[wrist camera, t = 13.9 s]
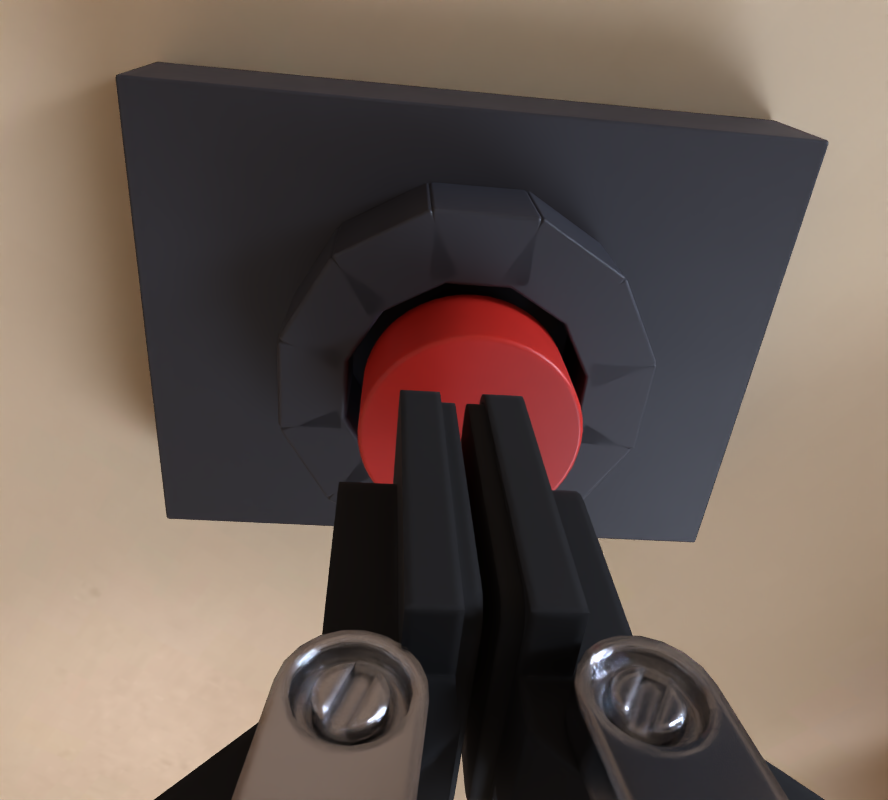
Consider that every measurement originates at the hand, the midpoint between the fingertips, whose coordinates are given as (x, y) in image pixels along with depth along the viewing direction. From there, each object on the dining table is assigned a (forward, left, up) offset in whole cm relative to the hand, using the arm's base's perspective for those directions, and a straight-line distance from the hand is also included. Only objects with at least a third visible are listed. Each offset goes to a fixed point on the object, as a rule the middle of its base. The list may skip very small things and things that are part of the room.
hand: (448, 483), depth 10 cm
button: (0, 0, -3) cm, 3 cm away
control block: (0, 0, -7) cm, 7 cm away
